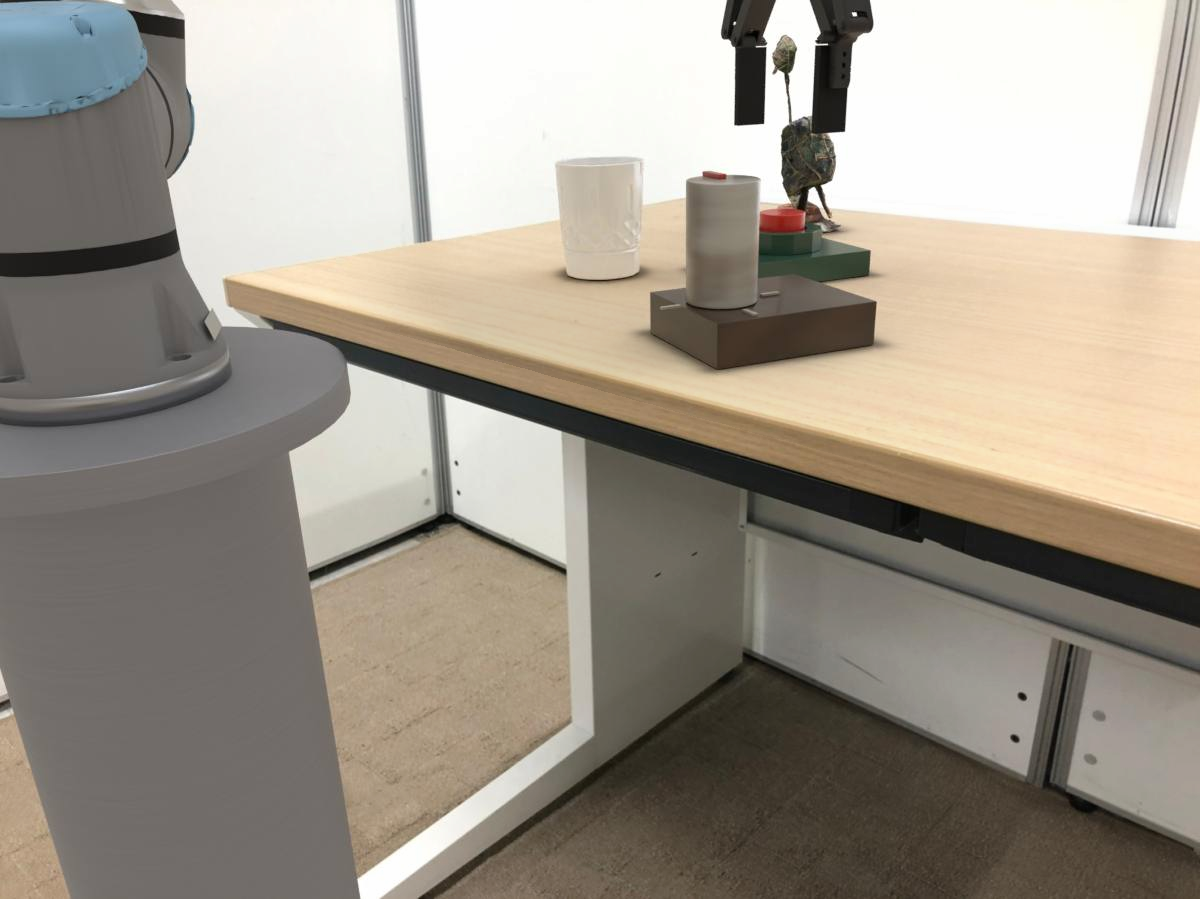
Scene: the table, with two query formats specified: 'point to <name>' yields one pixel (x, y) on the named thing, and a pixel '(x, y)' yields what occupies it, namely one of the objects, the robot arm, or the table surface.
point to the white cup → (600, 215)
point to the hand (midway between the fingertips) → (786, 128)
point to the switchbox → (809, 256)
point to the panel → (766, 323)
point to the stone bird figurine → (803, 152)
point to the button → (782, 220)
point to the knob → (722, 240)
